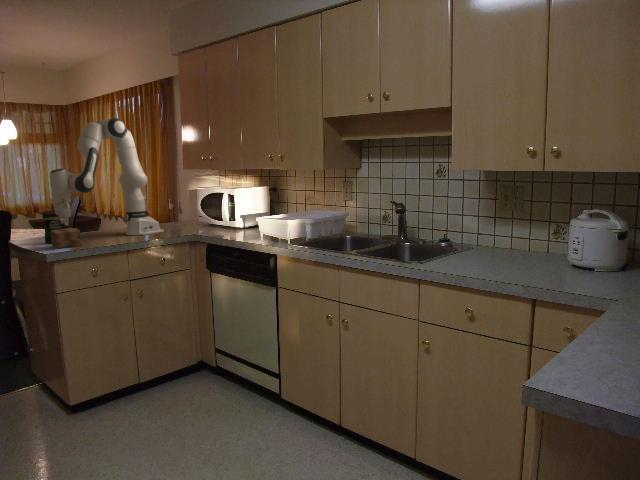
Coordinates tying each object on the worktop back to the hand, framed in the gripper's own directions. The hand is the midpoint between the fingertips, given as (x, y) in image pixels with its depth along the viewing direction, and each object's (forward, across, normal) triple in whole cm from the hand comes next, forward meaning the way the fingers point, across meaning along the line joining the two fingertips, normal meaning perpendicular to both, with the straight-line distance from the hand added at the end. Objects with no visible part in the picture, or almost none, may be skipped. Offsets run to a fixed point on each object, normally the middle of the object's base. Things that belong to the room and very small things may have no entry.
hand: (64, 224), depth 275 cm
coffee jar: (+12, +21, +2) cm, 24 cm away
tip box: (+12, 0, 0) cm, 12 cm away
